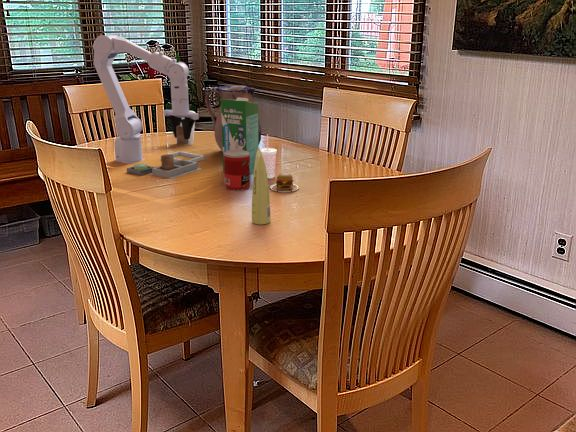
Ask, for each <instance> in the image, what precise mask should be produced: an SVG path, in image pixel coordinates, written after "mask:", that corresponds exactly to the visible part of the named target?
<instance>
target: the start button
mask: <svg viewBox="0 0 576 432" xmlns="http://www.w3.org/2000/svg"><path fill="white" fill-rule="evenodd" d="M133 166H134V169H136V170H140V171H141V170H144V169H147V168H148V166H149V165H148V164H147V163H134V164H133Z"/></svg>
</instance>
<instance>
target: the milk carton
mask: <svg viewBox="0 0 576 432" xmlns="http://www.w3.org/2000/svg"><path fill="white" fill-rule="evenodd" d="M220 106H221V117H222V148H223V151H222V170H223V171H224V152H226V151H229V150H244V151H248V152H249V154H250V175H251V174H254V167H255V159H256V153H257V150H258V146H259V145H260V144H259V130H258V118H259V103H255V102H254V103H252V102H248V99H247V98H237V100H230V99H222V98H221V99H220ZM259 147H260V146H259Z"/></svg>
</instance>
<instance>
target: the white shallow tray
mask: <svg viewBox="0 0 576 432" xmlns="http://www.w3.org/2000/svg"><path fill="white" fill-rule="evenodd" d="M170 154H171V155H173V156H174V162H176V161H179V160H183V159H181V158H176V157H184V158H190V159H187V161H192V162H197V163H199V162H201V161H206V160H207V159H206V158H207V157H206V155H204V154H198V153H193V152H192V153H191V152H186V151H182V150H179V151H176V152H172V153H171V152H170Z"/></svg>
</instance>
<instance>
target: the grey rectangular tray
mask: <svg viewBox="0 0 576 432" xmlns="http://www.w3.org/2000/svg"><path fill="white" fill-rule="evenodd" d="M187 160H188V159H187ZM187 160H186V159H182V160H179V161H176V162H174V169H173V170H169V171H166V170H162V165H159V166H157V167H156V166H154V167H155V168H152V172H151V173H149V175H150V176H151V175H152V176H155V177H161V178H165V179H170V180H173V179H176V178H178V177H181V176H184V175H187V174H190V173H194V172H197V171H199V170H200V171H201V170H202V168H201V167H199V162H192V161H187Z"/></svg>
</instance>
